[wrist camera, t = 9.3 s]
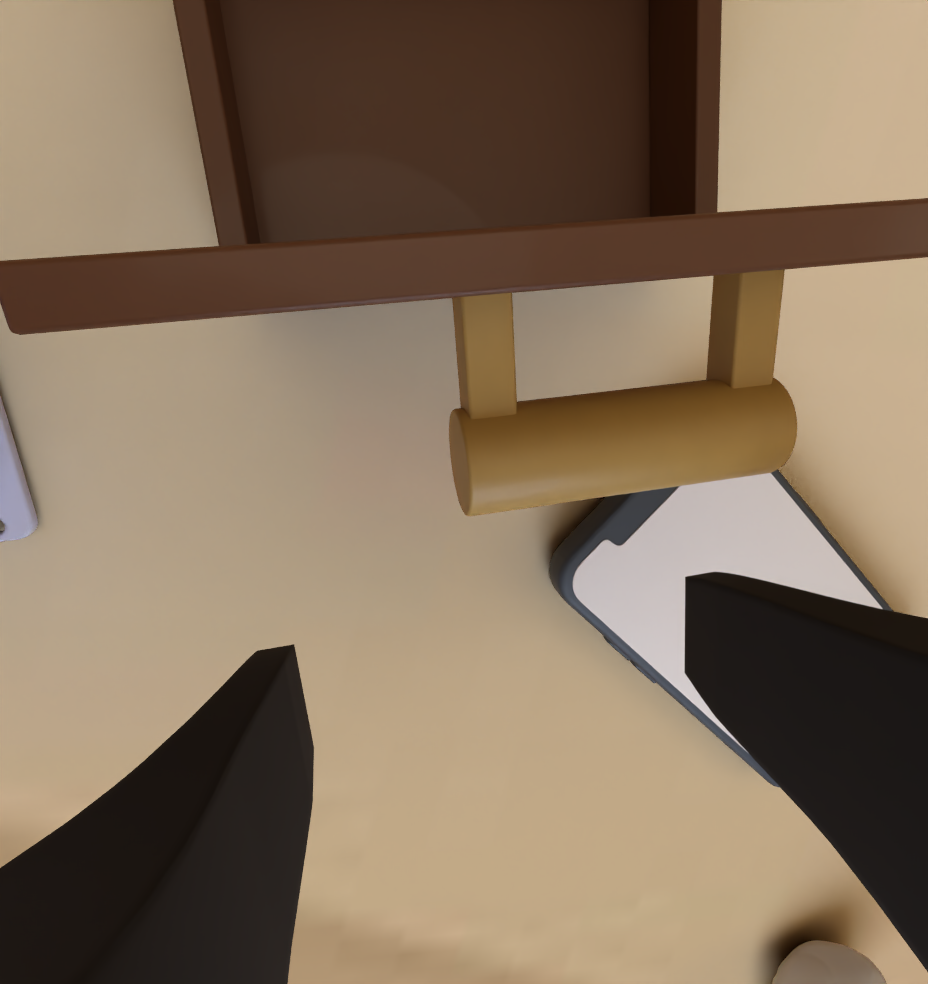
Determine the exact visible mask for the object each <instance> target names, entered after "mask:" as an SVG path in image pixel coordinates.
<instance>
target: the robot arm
mask: <svg viewBox="0 0 928 984" xmlns="http://www.w3.org/2000/svg"><path fill="white" fill-rule="evenodd" d="M0 520H1V521H2V522H3V523H4V525H5V530H4V531H0V542H3V541H10V540H18V539H22V538H25V537H27V536H28V535H30V534H32V533H33V532H34V531H35V530H36V528H37V526H38V518H37V515H36V512H35V508H34V505H33V502H32V498H31V495H30V492H29V488H28V485H27V482H26V478H25V475H24V472H23V468H22V465H21V462H20V458H19V455H18V452H17V448H16V445H15V442H14V438H13V435H12V432H11V428H10V425H9V422H8V418H7V415H6V412H5V408H4V405H3V402H2V398H1V395H0ZM685 674H686V676H687V677H688V679H689V680H690V682H691V683H692V685H693V686H694V687H695V689H696V690H697V692H698V693H699V695H700V696H701V698H702V699H703V701H704V702H705V703H706V705H707V706H708V707H709V709H710V710H711V712H712V713H713V714H714V716H715V717H716V718H717V719H718V720H719V721H720V723H721V724H722V725H723V726H724V727H725V728H726V729H727V730H728V732H729V733H730V734H731V735H732V736H733V737H734V738H735V739H736V740H737V741H738V742H739V744H740V745H741V746H742V747H743V748H744V749H745V750H746V751H747V752H748V753H749V754H750V755H751V757H752V758H753V759H754V760H755V761H756V762H757V763H758V764H759V765H760V766H761V767H762V768H763V769H764V770H765V771H766V773H767V774H768V775H769V776H770V777H771V778H772V779H773V780H774V781H775V782H776V783H777V784H778V785H779V786H780V788H781V789H782V790H783V791H784V792H785V793H786V794H787V795H788V796H789V797H790V798H791V799H792V800H793V801H794V803H795V804H796V805H797V806H798V807H799V808H800V809H801V810H802V811H803V812H804V813H805V814H806V815H807V816H808V818H809V819H810V820H811V821H812V822H813V823H814V824H815V826H816V827H817V828H818V829H819V830H820V831H821V832H822V834H823V835H824V836H825V837H826V838H827V839H828V841H829V842H830V843H831V844H832V845H833V847H834V848H835V849H836V850H837V852H838V853H839V854H840V856H841V857H842V858H843V859H844V861H845V862H846V863H847V865H848V866H849V867H850V868H851V870H852V871H853V872H854V874H855V875H856V876H857V877H858V879H859V880H860V881H861V883H862V884H863V885H864V886H865V888H866V889H867V890H868V892H869V893H870V894H871V896H872V897H873V898H874V899H875V901H876V902H877V903H878V905H879V906H880V907H881V909H882V910H883V911H884V913H885V914H886V916H887V917H888V918H889V920H890V921H891V922H892V924H893V925H894V926H895V928H896V929H897V931H898V932H899V933H900V935H901V936H902V937H903V939H904V940H905V941H906V943H907V944H908V946H909V947H910V948H911V950H912V951H913V952H914V954H915V955H916V956H917V958H918V959H919V961H920V962H921V963H922V965H923V966H924V967H925V969H926V970H927V971H928V618H923V617H917V616H912V615H908V614H903V613H898V612H894V611H889V610H884V609H880V608H875V607H870V606H866V605H862V604H857V603H853V602H849V601H845V600H841V599H836V598H832V597H828V596H824V595H820V594H816V593H812V592H808V591H804V590H800V589H797V588H793V587H789V586H785V585H780V584H776V583H772V582H768V581H764V580H760V579H756V578H751V577H747V576H742V575H737V574H731V573H724V572H709V573H704V574H698V575H692V576H686V577H685ZM313 760H314V746H313V741H312V736H311V730H310V725H309V720H308V715H307V709H306V704H305V699H304V694H303V689H302V683H301V678H300V673H299V668H298V663H297V657H296V652H295V647H294V645H288V646H283V647H277V648H271V649H265V650H260V651H256V652H255V653H254V654H253V655H252V656H251V657H250V658H249V659H248V660H247V661H246V662H245V663H244V664H243V665H242V666H241V667H240V668H239V669H238V670H237V671H236V672H235V673H234V674H233V675H232V676H231V677H230V678H229V679H228V680H227V682H226V683H225V684H224V685H223V686H222V687H221V688H220V689H219V690H218V691H217V692H216V693H215V694H214V695H213V696H212V697H211V698H210V699H209V700H208V701H207V702H206V703H205V704H204V705H203V706H202V707H201V708H200V709H199V710H198V711H197V712H196V713H195V714H194V715H193V716H192V717H191V718H190V719H189V720H188V721H187V722H186V723H185V724H184V725H183V726H181V727H180V728H179V729H178V730H177V731H176V732H175V733H174V734H173V735H172V736H171V737H170V738H168V739H167V740H166V741H165V742H164V743H163V744H162V745H161V746H160V747H159V748H158V749H157V750H155V751H154V752H153V753H152V754H151V755H150V756H149V757H148V758H147V759H146V760H145V761H143V762H142V763H141V764H140V765H139V766H138V767H136V768H135V769H134V770H133V771H132V772H131V773H129V774H128V775H127V776H126V777H125V778H123V779H122V780H121V781H120V782H118V783H117V784H116V785H115V786H114V787H112V788H111V789H110V790H109V791H107V792H106V793H105V794H103V795H102V796H101V797H99V798H98V799H97V800H96V801H94V802H93V803H92V804H90V805H89V806H88V807H87V808H85V809H84V810H83V811H81V812H80V813H79V814H78V815H76V816H75V817H73V818H72V819H71V820H69V821H68V822H67V823H65V824H64V825H63V826H61V827H60V828H58V829H57V830H55V831H54V832H52V833H51V834H49V835H48V836H46V837H45V838H44V839H42V840H41V841H39V842H38V843H36V844H35V845H33V846H32V847H30V848H29V849H27V850H26V851H25V852H23V853H22V854H20V855H19V856H17V857H16V858H14V859H13V860H11V861H10V862H8V863H7V864H6V865H4V866H3V867H1V868H0V984H287V982H288V973H289V964H290V955H291V946H292V940H293V933H294V926H295V919H296V913H297V906H298V899H299V893H300V886H301V879H302V872H303V866H304V859H305V852H306V845H307V838H308V831H309V825H310V818H311V810H312V801H313Z"/></svg>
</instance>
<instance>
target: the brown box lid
mask: <svg viewBox="0 0 928 984" xmlns="http://www.w3.org/2000/svg"><path fill="white" fill-rule="evenodd" d="M923 257H928V198H924V199H909V200H894V201H880V202H865V203H850V204H835V205H820V206H806V207H791V208H776V209H761V210H747V211H732V212H717V213H702V214H687V215H673V216H658V217H643V218H628V219H613V220H599V221H584V222H569V223H554V224H540V225H525V226H510V227H495V228H480V229H466V230H451V231H436V232H421V233H406V234H392V235H377V236H362V237H347V238H333V239H318V240H303V241H288V242H273V243H259V244H244V245H229V246H214V247H199V248H185V249H170V250H155V251H140V252H126V253H111V254H96V255H81V256H66V257H52V258H37V259H22V260H7V261H0V303H1V306H2V309H3V312H4V315H5V317H6V320H7V323H8V326H9V329H10V330H11V331H12V332H13V333H15V334H19V335H23V334H35V333H46V332H58V331H70V330H81V329H93V328H105V327H117V326H128V325H140V324H152V323H163V322H175V321H187V320H198V319H210V318H222V317H233V316H245V315H257V314H269V313H280V312H292V311H304V310H315V309H327V308H339V307H350V306H362V305H374V304H385V303H397V302H409V301H420V300H432V299H444V298H452V300H453V312H454V325H455V338H456V351H457V364H458V377H459V389H460V402H461V408H459V409H454V410H453V411H452V413H451V416H450V423H449V440H450V454H451V463H452V470H453V476H454V482H455V487H456V491H457V496H458V499H459V503H460V505H461V508H462V510H463V512H464V514H465V515H467V516H475V515H482V514H489V513H496V512H503V511H510V510H517V509H524V508H531V507H538V506H545V505H552V504H558V503H565V502H572V501H579V500H586V499H593V498H600V497H607V496H614V495H621V494H628V493H635V492H642V491H649V490H655V489H662V488H669V487H676V486H683V485H690V484H697V483H704V482H711V481H718V480H725V479H732V478H739V477H746V476H753V475H759V474H766V473H771V472H774V471H776V470H777V469H779V468H780V467H782V466H783V465H784V464H785V463H786V461H787V460H788V459H789V457H790V455H791V453H792V451H793V448H794V445H795V441H796V436H797V418H796V412H795V408H794V405H793V402H792V399H791V397H790V395H789V393H788V392H787V390H786V389H785V387H784V386H783V385H782V384H781V383H780V382H779V381H778V380H776V379H775V378H773V372H774V363H775V353H776V344H777V335H778V326H779V317H780V308H781V299H782V289H783V280H784V271H785V269H795V268H806V267H818V266H830V265H841V264H853V263H865V262H876V261H888V260H900V259H912V258H923ZM713 275H714V278H713V292H712V306H711V321H710V335H709V349H708V364H707V378H706V380H702V381H693V382H685V383H676V384H667V385H659V386H650V387H641V388H633V389H624V390H615V391H607V392H598V393H589V394H581V395H572V396H563V397H555V398H546V399H537V400H529V401H520V402H517V398H516V375H515V352H514V330H513V307H512V293H514V292H526V291H537V290H549V289H561V288H572V287H584V286H596V285H608V284H619V283H631V282H643V281H654V280H666V279H678V278H689V277H701V276H713Z"/></svg>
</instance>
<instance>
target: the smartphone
mask: <svg viewBox="0 0 928 984" xmlns="http://www.w3.org/2000/svg"><path fill="white" fill-rule="evenodd" d="M709 572H724V573H731V574H737V575H742V576H747V577H751V578H756V579H760V580H764V581H768V582H772V583H776V584H780V585H785V586H789V587H793V588H797V589H800V590H804V591H808V592H812V593H816V594H820V595H824V596H828V597H832V598H836V599H841V600H845V601H849V602H853V603H857V604H862V605H866V606H870V607H875V608H880V609H884V610H889V611H893V610H892V609H891V608H890V606H889V605H888V604H887V603H886V601H885V600H884V599H883V598H882V596H881V595H880V594H879V593H878V592H877V590H876V589H875V588H874V587H873V585H872V584H871V583H870V582H869V581H868V579H867V578H866V577H865V576H864V574H863V573H862V572H861V571H860V570H859V568H858V567H857V566H856V565H855V563H854V562H853V561H852V560H851V559H850V557H849V556H848V555H847V554H846V552H845V551H844V550H843V549H842V548H841V546H840V545H839V544H838V543H837V541H836V540H835V539H834V538H833V537H832V535H831V534H830V533H829V532H828V530H827V529H826V528H825V527H824V525H823V524H822V522H821V521H820V520H819V518H818V517H817V516H816V515H815V513H814V512H813V511H812V510H811V509H810V507H809V506H808V505H807V504H806V502H805V501H804V500H803V499H802V497H801V496H800V495H799V494H798V493H797V492H796V491H795V490H794V489H793V488H792V486H791V485H790V484H789V483H788V481H787V480H786V479H785V478H784V477H783V475H782V474H781V473H780V472H779V470H778V469H777V470H776V471H774V472H771V473H766V474H759V475H753V476H746V477H739V478H732V479H725V480H718V481H711V482H704V483H697V484H690V485H683V486H676V487H669V488H662V489H655V490H649V491H642V492H635V493H628V494H621V495H614V496H607V497H605V498H604V499H603V500H602V502H601V503H600V504H599V505H598V506H597V507H596V508H595V509H594V510H593V511H592V512H591V513H590V514H589V515H588V516H587V517H586V518H585V519H584V520H583V521H582V522H581V523H580V524H579V525H578V526H577V528H576V529H575V530H574V531H573V532H572V533H571V534H570V535H569V536H568V537H567V538H566V539H565V540H564V541H563V542H562V543H561V544H560V545H559V547H558V548H557V549H556V550H555V552H554V554H553V556H552V558H551V561H550V567H549V573H550V579H551V582H552V584H553V586H554V588H555V589H556V590H557V592H558V593H559V594H560V595H561V597H562V598H563V599H564V600H565V601H566V602H567V603H568V604H569V605H570V606H571V607H572V608H573V609H575V610H576V611H577V612H578V613H579V614H580V615H581V616H582V617H584V618H585V619H586V620H587V621H588V622H589V623H590V624H591V625H593V626H594V627H595V628H596V629H597V630H598V631H599V632H600V633H602V634H603V635H604V638H605V640H606V641H607V642H608V643H609V644H610V645H611V646H612V647H613V648H615V649H616V650H617V651H618V652H619V653H620V654H621V655H622V656H624V657H625V658H626V659H627V660H630V662H631V663H632V664H633V665H634V666H635V667H636V668H637V669H638V670H639V671H641V672H642V673H643V674H644V675H645V676H646V677H647V678H648V679H650V680H651V681H652V682H653V683H656V682H657V683H658V684H659V685H660V686H661V687H662V688H663V689H664V690H666V691H667V692H668V693H669V694H670V695H671V696H672V697H673V698H674V699H676V700H677V701H678V702H679V703H680V704H681V705H682V706H683V707H685V708H686V709H687V710H688V711H689V712H690V713H691V714H692V715H694V716H695V717H696V718H697V719H698V720H699V721H700V722H701V723H703V724H704V725H705V726H706V727H707V728H708V729H709V730H710V731H712V732H713V733H714V734H715V735H716V736H717V737H718V738H719V739H721V740H722V741H723V742H724V743H725V744H726V745H727V746H728V747H729V748H731V749H732V750H733V751H734V752H735V753H736V754H737V755H738V756H740V757H741V758H742V759H743V760H744V761H745V762H746V763H747V764H749V765H750V766H751V767H752V768H753V769H754V770H755V771H756V772H758V773H759V774H760V775H761V776H762V777H763V778H764V779H765V780H767V781H768V782H769V783H770V784H772V785H773V786H776V787H780V786H779V785H778V784H777V783H776V782H775V781H774V780H773V779H772V778H771V777H770V776H769V775H768V774H767V773H766V771H765V770H764V769H763V768H762V767H761V766H760V765H759V764H758V763H757V762H756V761H755V760H754V759H753V758H752V757H751V755H750V754H749V753H748V752H747V751H746V750H745V749H744V748H743V747H742V746H741V745H740V744H739V742H738V741H737V740H736V739H735V738H734V737H733V736H732V735H731V734H730V733H729V732H728V730H727V729H726V728H725V727H724V726H723V725H722V724H721V723H720V721H719V720H718V719H717V718H716V717H715V716H714V714H713V713H712V712H711V710H710V709H709V707H708V706H707V705H706V703H705V702H704V701H703V699H702V698H701V696H700V695H699V693H698V692H697V690H696V689H695V687H694V686H693V685H692V683H691V682H690V680H689V679H688V677H687V676H686V674H685V577H686V576H692V575H698V574H704V573H709Z"/></svg>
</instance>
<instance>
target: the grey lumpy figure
mask: <svg viewBox="0 0 928 984" xmlns="http://www.w3.org/2000/svg"><path fill="white" fill-rule="evenodd" d="M772 984H886V981H885V979H884V977H883V975H882V973H881V972H880V971H879V969H878V968H877V967H876V966H875V965H874V963H873V962H872V961H871V960H870V959H869V958H867V957H866V956H864V955H863V954H861V953H859V952H857V951H856V950H854V949H852V948H850V947H848V946H845V945H842V944H838V943H834V942H828V941H820V940H815V941H808V942H805V943H803V944H801V945H799V946H798V947H796V948H795V949H794V950H793V951H792V952H791V953H790V954H789V955H788V956H787V957H786V958H785V959H784V961H783V962H782V963H781V964H780V966H779V968H778V970H777V974H776V975H775V977H774V979H773V981H772Z"/></svg>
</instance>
